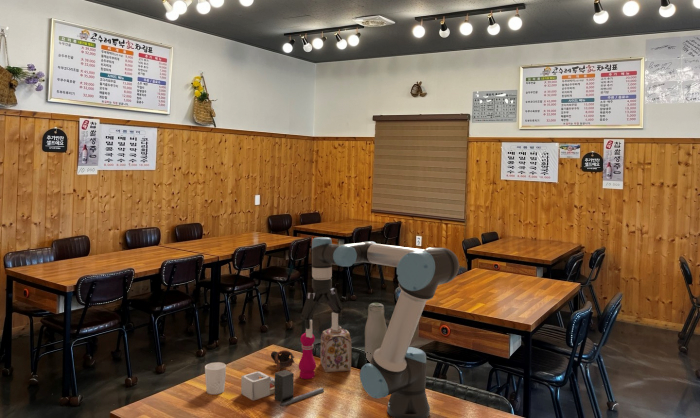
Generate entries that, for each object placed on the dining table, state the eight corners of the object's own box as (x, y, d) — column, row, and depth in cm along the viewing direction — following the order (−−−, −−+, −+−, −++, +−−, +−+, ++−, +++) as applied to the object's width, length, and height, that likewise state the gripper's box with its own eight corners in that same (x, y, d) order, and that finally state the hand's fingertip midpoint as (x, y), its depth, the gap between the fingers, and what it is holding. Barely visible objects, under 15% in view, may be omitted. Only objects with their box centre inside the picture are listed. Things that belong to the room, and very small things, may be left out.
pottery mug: (298, 365, 233) (298, 352, 228) (287, 380, 226) (286, 368, 221) (276, 354, 237) (275, 342, 233) (264, 369, 230) (263, 357, 226)
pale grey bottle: (381, 359, 240) (382, 299, 238) (389, 367, 230) (391, 305, 228) (361, 362, 236) (362, 301, 235) (368, 370, 227) (370, 306, 225)
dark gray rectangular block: (293, 399, 196) (293, 373, 195) (282, 403, 192) (282, 376, 192) (269, 386, 207) (269, 362, 206) (258, 390, 203) (258, 365, 203)
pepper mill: (313, 380, 215) (313, 332, 213) (296, 378, 216) (296, 331, 215) (317, 373, 222) (318, 327, 220) (301, 372, 223) (301, 326, 222)
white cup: (200, 392, 201) (200, 367, 200) (214, 385, 208) (214, 360, 207) (216, 397, 197) (216, 371, 197) (230, 389, 204) (230, 364, 204)
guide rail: (323, 391, 204) (323, 388, 204) (282, 406, 190) (282, 403, 190) (321, 390, 205) (321, 387, 205) (280, 405, 191) (280, 402, 191)
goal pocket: (270, 394, 200) (270, 377, 199) (253, 400, 195) (253, 382, 194) (258, 388, 206) (258, 371, 205) (241, 393, 200) (241, 376, 200)
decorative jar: (351, 371, 226) (352, 330, 224) (324, 373, 223) (325, 331, 222) (345, 361, 237) (346, 322, 236) (320, 363, 234) (320, 323, 233)
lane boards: (293, 386, 208) (293, 382, 208) (269, 395, 200) (269, 389, 200) (281, 380, 213) (281, 376, 213) (257, 388, 206) (257, 383, 205)
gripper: (337, 272, 210) (338, 325, 211) (290, 281, 192) (291, 338, 193) (351, 275, 205) (351, 328, 206) (304, 283, 187) (304, 342, 188)
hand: (322, 333), depth 199 cm, fingers open, 13 cm apart
